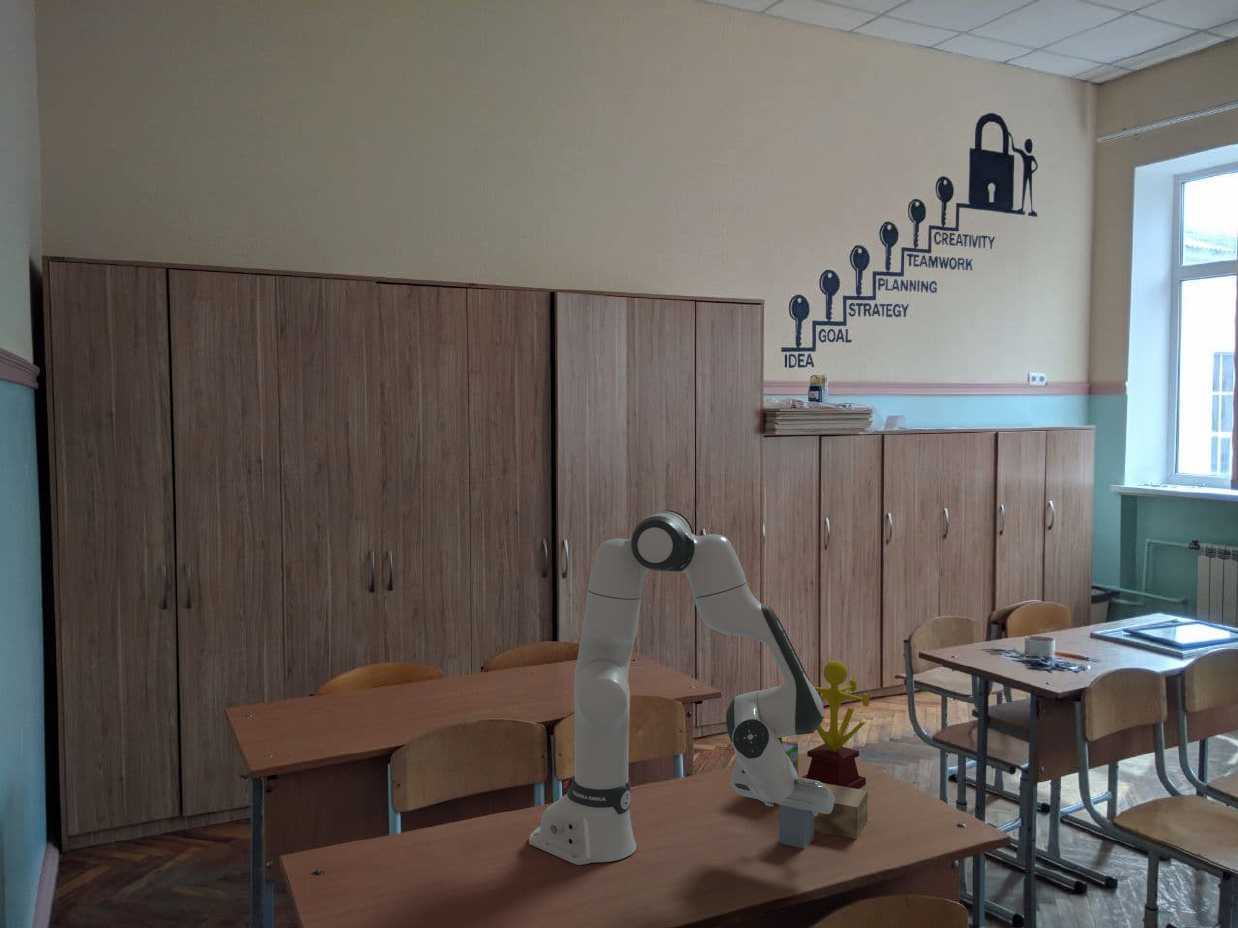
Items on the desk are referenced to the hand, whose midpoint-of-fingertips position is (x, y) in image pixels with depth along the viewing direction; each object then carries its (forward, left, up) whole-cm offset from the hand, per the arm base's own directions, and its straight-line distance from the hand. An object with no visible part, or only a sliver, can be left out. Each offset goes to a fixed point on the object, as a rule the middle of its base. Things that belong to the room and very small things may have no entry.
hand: (792, 807), depth 202 cm
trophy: (-4, +37, -8) cm, 39 cm away
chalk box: (-14, +24, -9) cm, 29 cm away
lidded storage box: (0, +3, -8) cm, 9 cm away
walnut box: (+5, +15, -8) cm, 18 cm away
